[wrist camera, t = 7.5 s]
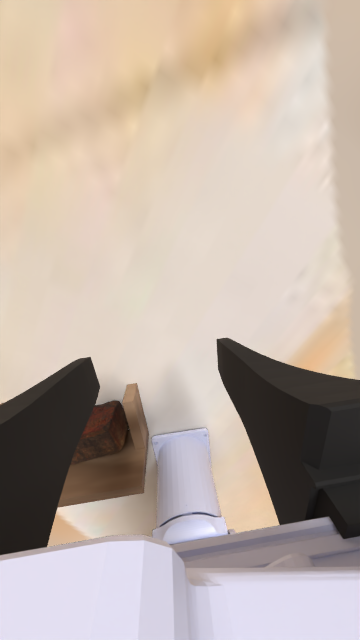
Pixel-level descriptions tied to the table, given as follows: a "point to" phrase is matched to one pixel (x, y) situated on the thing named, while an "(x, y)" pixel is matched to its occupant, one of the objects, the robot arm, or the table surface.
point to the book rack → (112, 463)
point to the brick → (102, 432)
